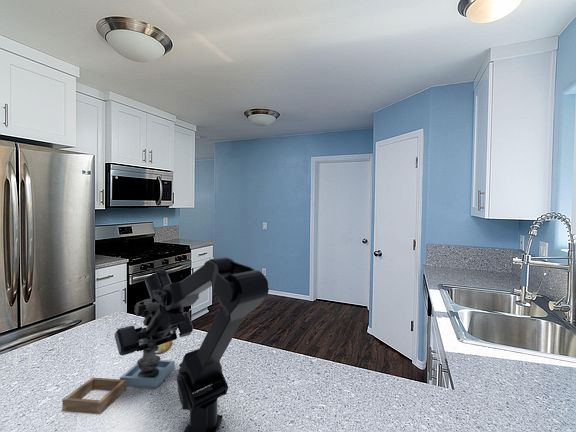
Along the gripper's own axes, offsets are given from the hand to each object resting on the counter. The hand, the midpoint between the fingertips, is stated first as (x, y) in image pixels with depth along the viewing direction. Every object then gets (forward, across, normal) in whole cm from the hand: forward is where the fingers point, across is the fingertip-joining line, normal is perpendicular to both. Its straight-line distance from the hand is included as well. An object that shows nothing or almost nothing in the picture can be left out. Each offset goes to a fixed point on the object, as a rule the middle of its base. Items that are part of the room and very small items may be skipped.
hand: (147, 347), depth 84 cm
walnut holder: (+4, +13, +7) cm, 15 cm away
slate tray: (+5, 0, +6) cm, 8 cm away
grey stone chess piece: (+4, 0, +6) cm, 7 cm away
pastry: (+15, -9, -4) cm, 18 cm away
